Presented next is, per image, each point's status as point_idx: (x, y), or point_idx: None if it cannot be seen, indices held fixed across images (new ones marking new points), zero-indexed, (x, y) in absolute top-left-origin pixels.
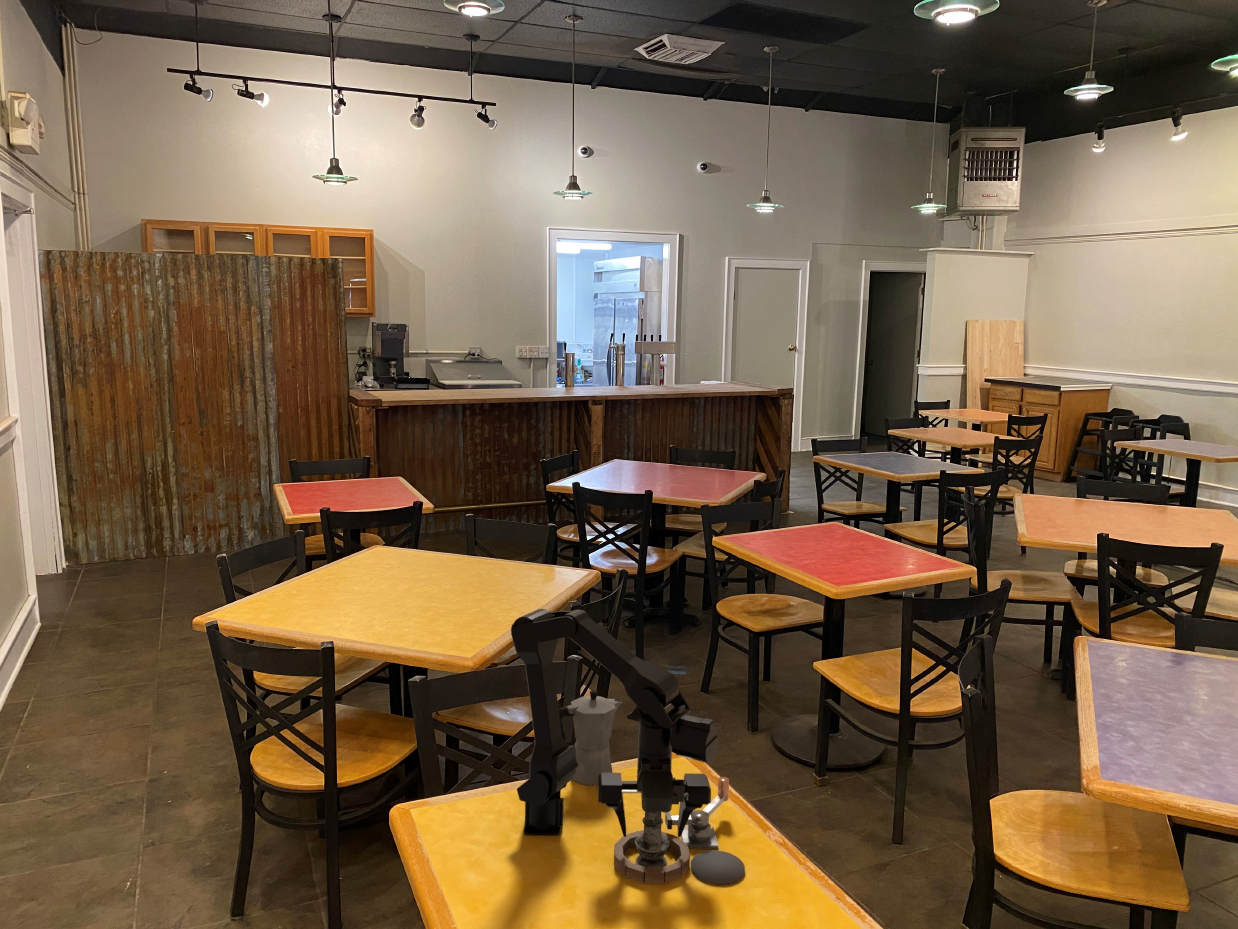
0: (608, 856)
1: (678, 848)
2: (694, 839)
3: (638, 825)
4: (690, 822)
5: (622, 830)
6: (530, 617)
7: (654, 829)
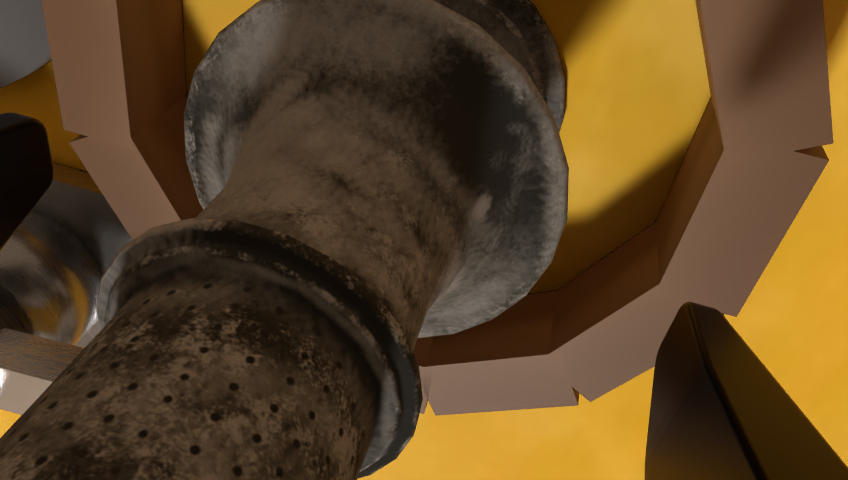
0: (772, 262)
1: (156, 140)
2: (52, 234)
3: (410, 476)
4: (4, 345)
5: (761, 374)
6: None
7: (268, 212)
